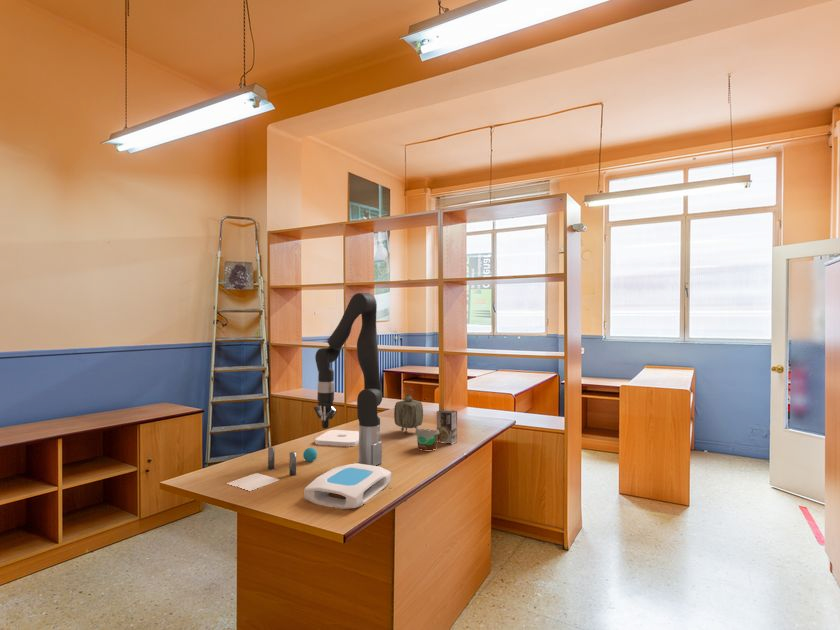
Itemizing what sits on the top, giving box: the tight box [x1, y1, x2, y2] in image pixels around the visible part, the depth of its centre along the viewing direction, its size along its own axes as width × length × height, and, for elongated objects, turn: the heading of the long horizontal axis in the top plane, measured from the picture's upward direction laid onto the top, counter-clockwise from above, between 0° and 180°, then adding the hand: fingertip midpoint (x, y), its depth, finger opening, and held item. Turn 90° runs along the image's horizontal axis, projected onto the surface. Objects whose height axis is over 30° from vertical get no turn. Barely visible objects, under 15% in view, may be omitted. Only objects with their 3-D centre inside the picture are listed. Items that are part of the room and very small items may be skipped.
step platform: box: [303, 462, 392, 510], centre depth 166 cm, size 21×28×6 cm
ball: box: [302, 447, 318, 463], centre depth 201 cm, size 6×6×6 cm
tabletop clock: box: [393, 387, 424, 435], centre depth 251 cm, size 14×9×25 cm, turn 58°
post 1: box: [267, 446, 276, 471], centre depth 191 cm, size 3×3×9 cm
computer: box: [314, 429, 359, 448], centre depth 236 cm, size 22×22×3 cm
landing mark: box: [225, 472, 280, 492], centre depth 175 cm, size 14×14×1 cm
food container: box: [415, 427, 440, 450], centre depth 219 cm, size 12×6×10 cm, turn 68°
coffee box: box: [436, 408, 458, 443], centre depth 233 cm, size 9×6×16 cm
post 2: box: [288, 451, 297, 477], centre depth 184 cm, size 3×3×9 cm
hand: (325, 428), depth 209 cm, fingers closed
